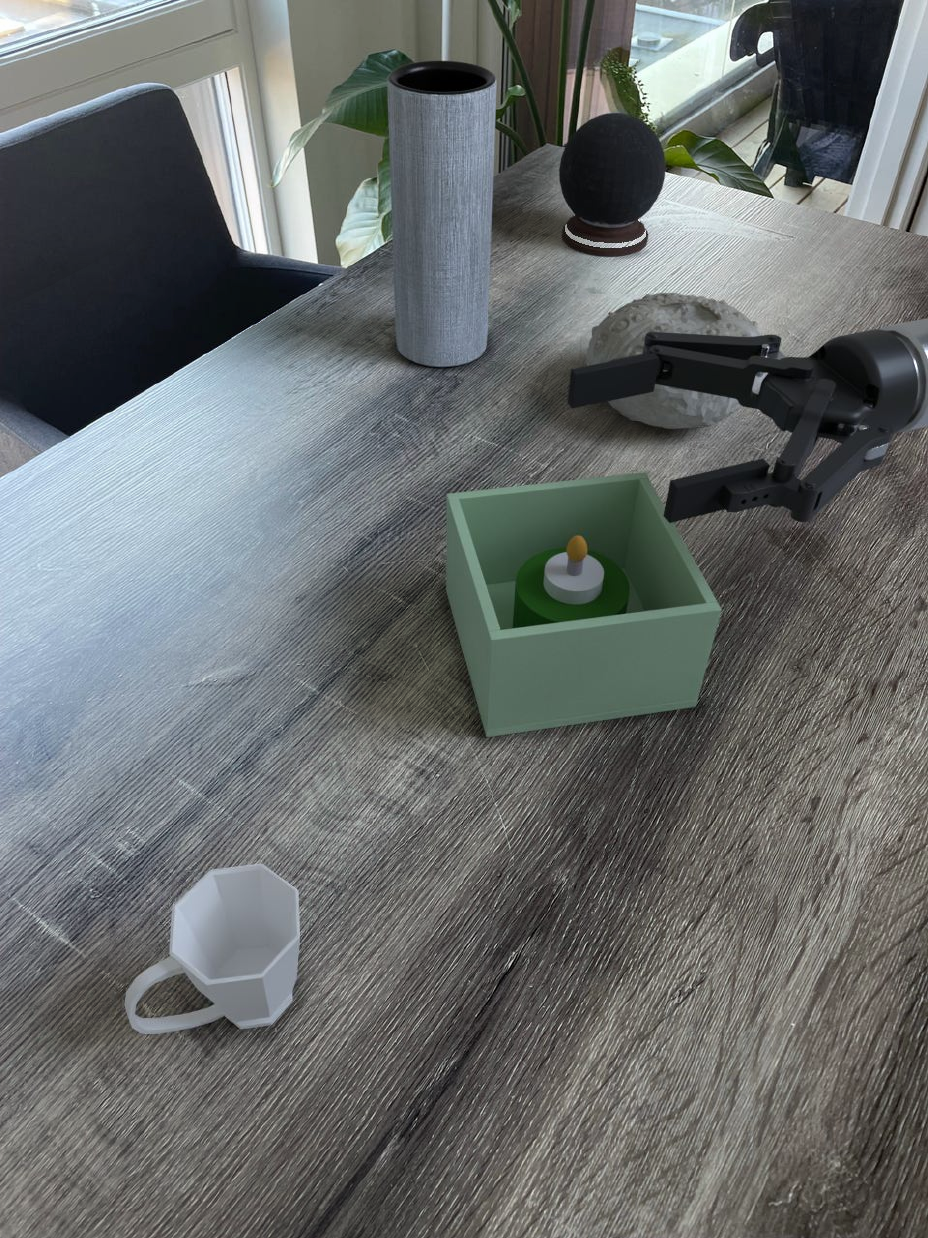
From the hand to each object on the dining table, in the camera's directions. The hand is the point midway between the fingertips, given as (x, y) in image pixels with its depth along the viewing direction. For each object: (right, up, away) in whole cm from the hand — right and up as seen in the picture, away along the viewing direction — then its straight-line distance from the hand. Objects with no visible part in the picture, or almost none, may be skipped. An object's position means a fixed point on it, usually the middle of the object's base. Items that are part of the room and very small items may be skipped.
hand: (616, 441), depth 65 cm
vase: (-12, +18, +45) cm, 50 cm away
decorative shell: (+11, +11, +38) cm, 41 cm away
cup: (-23, -33, -8) cm, 41 cm away
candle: (-2, -13, +12) cm, 18 cm away
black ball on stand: (+8, +38, +66) cm, 77 cm away
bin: (-2, -13, +12) cm, 18 cm away
